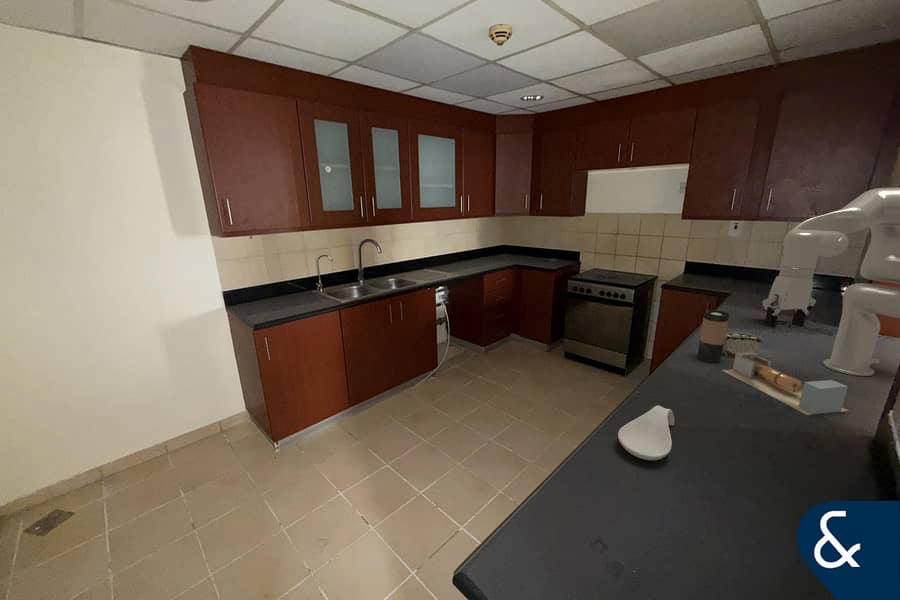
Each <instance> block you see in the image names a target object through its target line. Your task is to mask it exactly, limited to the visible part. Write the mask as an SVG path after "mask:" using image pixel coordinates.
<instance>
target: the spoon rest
mask: <svg viewBox="0 0 900 600" xmlns="http://www.w3.org/2000/svg"><path fill="white" fill-rule="evenodd" d="M674 425H675V415H674V412H673V410H672V409H670V408H665V407H663V406H661V405H658V404H657V405H655V406H653V407H652V408H651V409H650V410H649V411H647V412H645V413H643V414H641V415H640V416H638V417H637V418H635V419H633V420H631V421H629V422H627V423H626V424H625V425H623V426H622V427H620V429H619V430H618V431H617V438H618V441H619V443H620V444H621V446H622V447H623V448H624V449H625V450H626V451H627V452H628V453H630V455H632V456H635V457H636V458H638V459H642V460H645V461H657V460H661V459H663V458H665V457H666V456H668V454H670V452H671V450H672V442H673V441H672V436H671V430H670V428H669V426H671V427H672V426H673V427H674Z"/></svg>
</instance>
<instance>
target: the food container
mask: <svg viewBox="0 0 900 600" xmlns="http://www.w3.org/2000/svg"><path fill="white" fill-rule="evenodd" d="M761 344H764V339H763V337H761V336H759V335H756V334H753V333H749V332H743V331H729V332H726V336H725V342H724V346H725V347H724V357H725V358H732V359H735V355H736V353H741V352H755V353H757V354H759V353H758V352H759V350H760V346H761ZM744 358H745V357H744ZM748 358H749V357H748Z"/></svg>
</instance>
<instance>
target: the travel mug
mask: <svg viewBox="0 0 900 600" xmlns="http://www.w3.org/2000/svg"><path fill="white" fill-rule="evenodd" d="M729 317H730V314H729V312H726V311H723V310H722V311H721V310H716V309H715V310H714V309H708V310H706V311H704V313H703V319H702V324H701V328H700V329H701V330H700V336H699V343H698V351H697V359H698V360H699V361H701V362H702V363H707V364H716V365H717V364H720V363H721V359H722V355H723V350H724V348H725V347H724V346H725V343H726V339H725V336H726V333H727V329H728V323H729Z"/></svg>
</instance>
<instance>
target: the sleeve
mask: <svg viewBox="0 0 900 600" xmlns="http://www.w3.org/2000/svg"><path fill="white" fill-rule="evenodd" d="M744 357H749V358H750V359H752V360H755V361H757V362H759V363H761V364H764V365H766V366H768V367H770V368H771V364H772V361H770V360H768V359H765V358H763V357H761V356H759V353H755V352H741V353H736V355H735V358H734V360H733V365H732V366H733V367H732V369H733V371H734V372H736V373H738V374H740V375H742V376H744V377H746V378H748V379H750V380H754V379H765V378H763V377H761V376H759V375H757V374H755V373H754V371H755V367H756V363H755V362H753V361H751V360H749V359H746V358H744Z"/></svg>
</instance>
